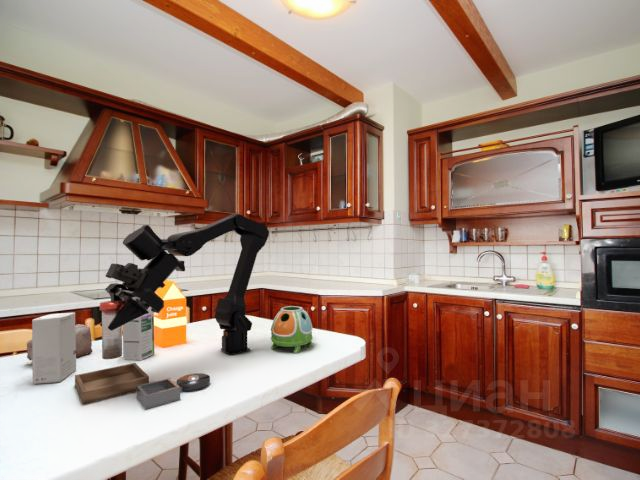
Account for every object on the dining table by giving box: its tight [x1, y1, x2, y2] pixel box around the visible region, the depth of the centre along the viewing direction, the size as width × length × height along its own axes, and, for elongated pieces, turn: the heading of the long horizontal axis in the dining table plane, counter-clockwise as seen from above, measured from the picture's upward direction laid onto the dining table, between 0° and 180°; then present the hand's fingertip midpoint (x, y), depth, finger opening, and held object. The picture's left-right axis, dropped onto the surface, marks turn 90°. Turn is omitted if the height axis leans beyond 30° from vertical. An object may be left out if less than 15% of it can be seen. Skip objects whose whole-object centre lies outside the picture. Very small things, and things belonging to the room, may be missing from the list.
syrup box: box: [122, 307, 155, 361], centre depth 99 cm, size 6×6×14 cm
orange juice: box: [154, 279, 187, 349], centre depth 113 cm, size 8×9×20 cm
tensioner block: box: [135, 372, 211, 410], centre depth 75 cm, size 15×9×2 cm, turn 131°
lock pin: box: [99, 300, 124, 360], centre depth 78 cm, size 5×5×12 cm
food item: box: [26, 324, 93, 362], centre depth 98 cm, size 14×8×10 cm, turn 157°
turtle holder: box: [270, 305, 314, 354], centre depth 110 cm, size 12×18×12 cm
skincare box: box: [31, 312, 77, 385], centre depth 84 cm, size 8×6×15 cm
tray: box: [74, 362, 150, 406], centre depth 78 cm, size 12×12×2 cm
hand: (105, 327), depth 77 cm, fingers closed on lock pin, 4 cm apart
